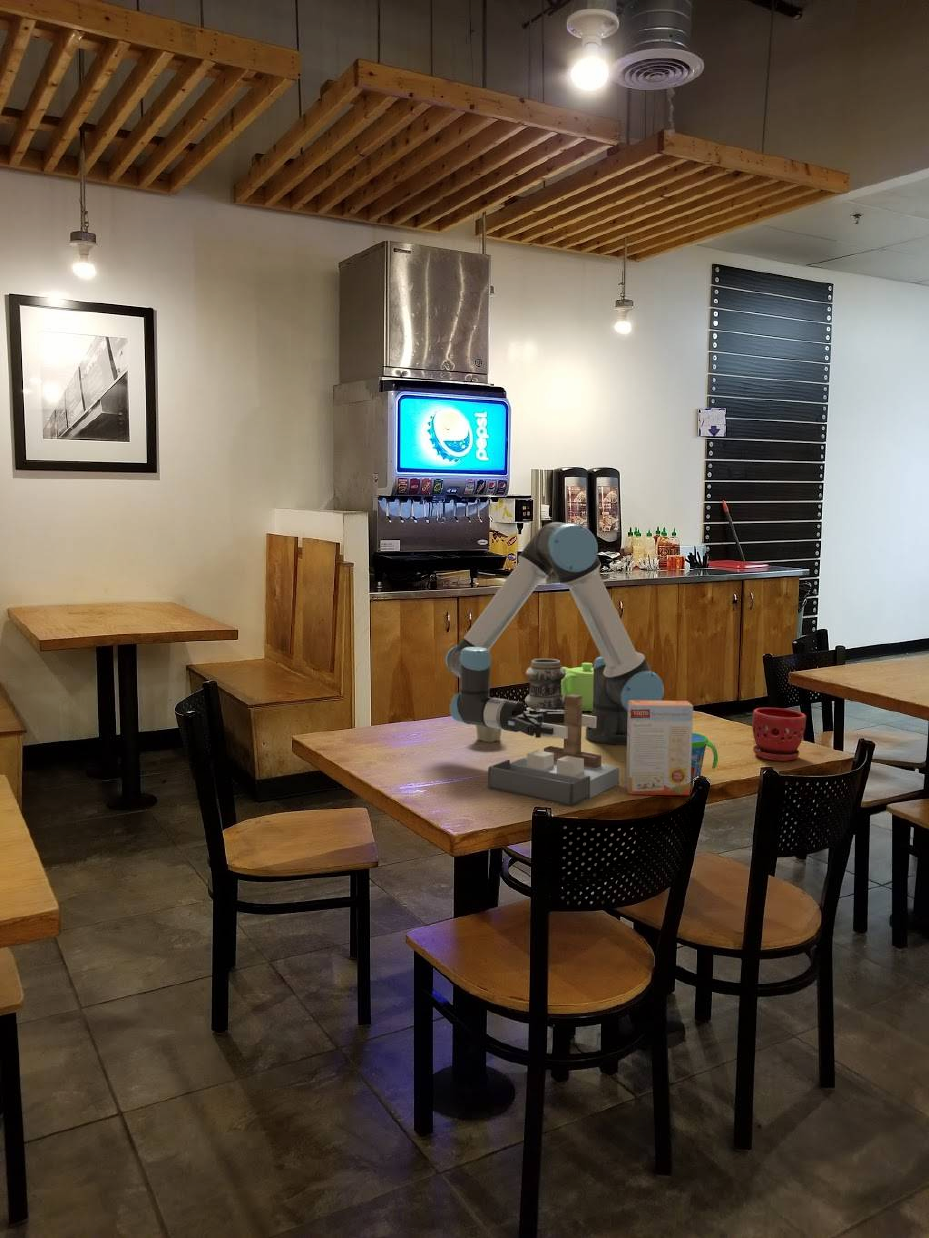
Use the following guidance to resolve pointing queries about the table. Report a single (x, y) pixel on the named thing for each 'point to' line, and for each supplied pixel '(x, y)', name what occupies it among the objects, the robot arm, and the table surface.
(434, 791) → the table surface
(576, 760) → the tile
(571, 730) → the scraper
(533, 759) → the tile
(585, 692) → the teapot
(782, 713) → the plant pot
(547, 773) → the board
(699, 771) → the snack cup
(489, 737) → the flower pot
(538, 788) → the box
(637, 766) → the cracker box
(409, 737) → the table surface
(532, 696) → the apothecary jar
